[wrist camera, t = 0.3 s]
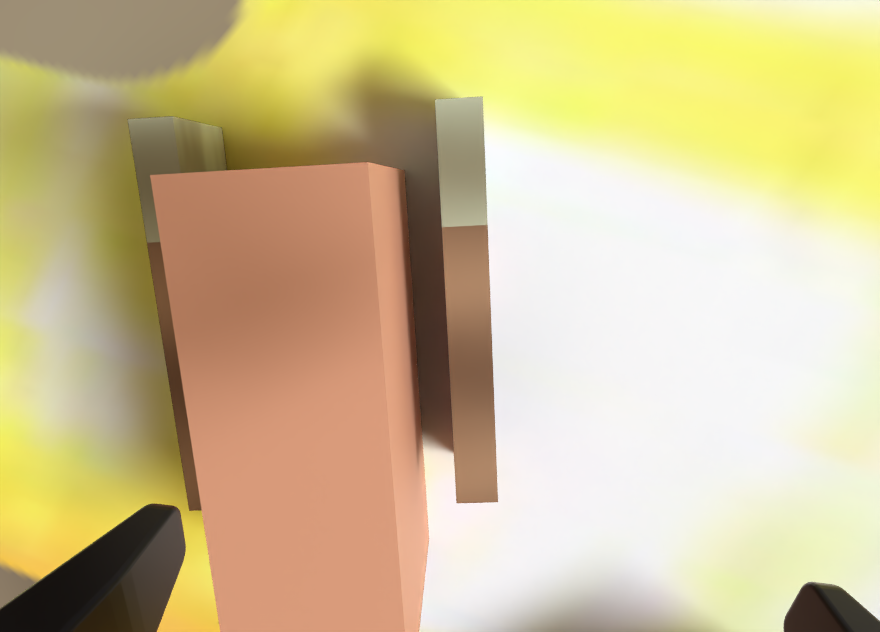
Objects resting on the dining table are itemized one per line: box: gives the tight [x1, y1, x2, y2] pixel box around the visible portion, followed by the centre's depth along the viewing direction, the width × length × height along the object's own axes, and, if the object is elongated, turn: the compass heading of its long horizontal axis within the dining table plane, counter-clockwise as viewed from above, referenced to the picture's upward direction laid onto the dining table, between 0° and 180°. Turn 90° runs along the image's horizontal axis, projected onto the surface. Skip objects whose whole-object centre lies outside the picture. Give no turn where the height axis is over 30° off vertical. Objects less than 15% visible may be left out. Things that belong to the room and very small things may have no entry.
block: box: [150, 162, 429, 632], centre depth 21 cm, size 16×6×9 cm, turn 3°
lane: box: [128, 97, 498, 511], centre depth 23 cm, size 14×12×4 cm
